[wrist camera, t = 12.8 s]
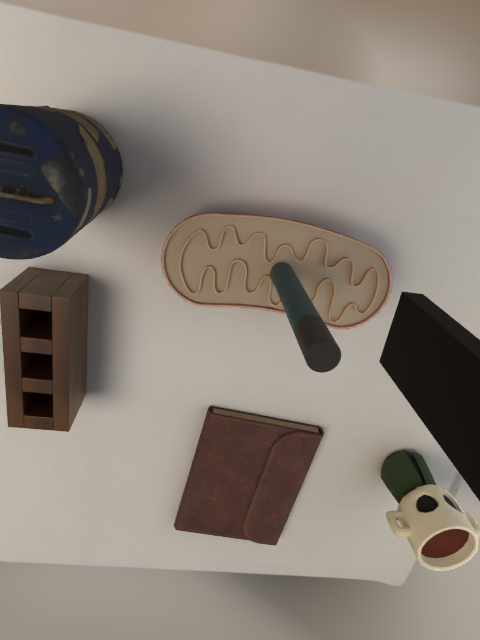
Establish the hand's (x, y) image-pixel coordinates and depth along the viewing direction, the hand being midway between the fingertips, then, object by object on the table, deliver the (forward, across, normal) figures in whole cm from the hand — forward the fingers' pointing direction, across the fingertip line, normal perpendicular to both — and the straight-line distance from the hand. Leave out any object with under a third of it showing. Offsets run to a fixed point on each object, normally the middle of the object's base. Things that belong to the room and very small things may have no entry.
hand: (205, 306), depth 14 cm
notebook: (+31, +10, -37) cm, 50 cm away
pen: (+27, +8, -7) cm, 29 cm away
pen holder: (+32, -14, -19) cm, 40 cm away
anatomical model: (+32, +8, -7) cm, 34 cm away
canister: (+32, -12, 0) cm, 35 cm away
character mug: (+31, +31, -34) cm, 55 cm away
